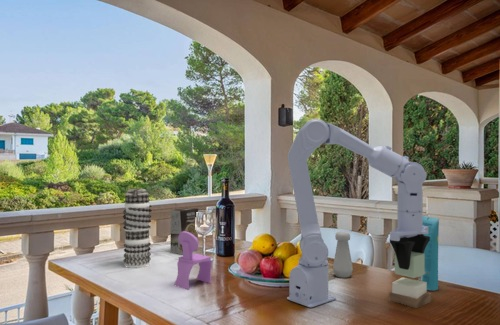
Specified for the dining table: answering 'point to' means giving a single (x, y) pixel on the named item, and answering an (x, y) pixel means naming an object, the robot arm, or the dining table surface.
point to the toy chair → (191, 261)
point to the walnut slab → (410, 299)
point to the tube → (431, 254)
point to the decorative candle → (137, 228)
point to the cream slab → (409, 287)
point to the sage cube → (412, 266)
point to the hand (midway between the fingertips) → (410, 266)
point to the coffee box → (182, 226)
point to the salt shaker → (342, 256)
